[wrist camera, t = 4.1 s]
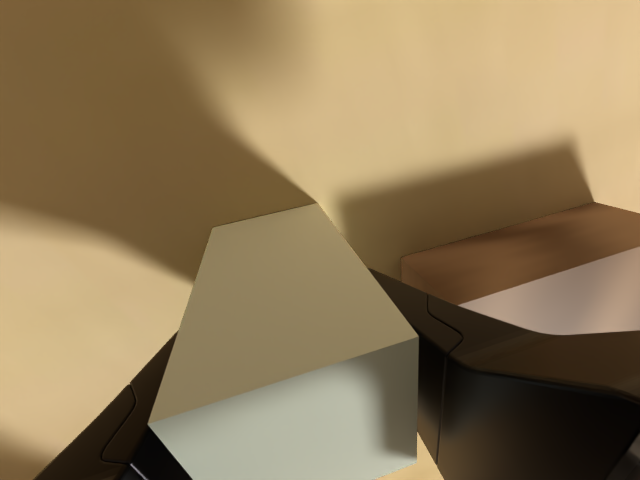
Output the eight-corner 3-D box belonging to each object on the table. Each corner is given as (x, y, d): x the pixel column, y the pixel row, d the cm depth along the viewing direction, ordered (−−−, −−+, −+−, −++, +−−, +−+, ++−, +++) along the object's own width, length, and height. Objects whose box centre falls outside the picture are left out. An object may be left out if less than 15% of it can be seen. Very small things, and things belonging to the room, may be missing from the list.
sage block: (244, 309, 12) (237, 533, 5) (212, 227, 10) (147, 424, 4) (331, 285, 12) (416, 463, 6) (317, 203, 10) (419, 336, 4)
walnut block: (402, 393, 18) (440, 462, 14) (396, 253, 13) (453, 306, 9) (541, 343, 19) (607, 394, 16) (585, 199, 14) (696, 228, 11)
